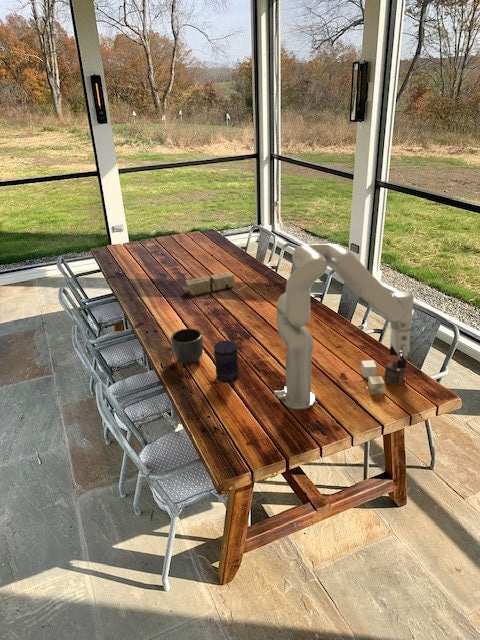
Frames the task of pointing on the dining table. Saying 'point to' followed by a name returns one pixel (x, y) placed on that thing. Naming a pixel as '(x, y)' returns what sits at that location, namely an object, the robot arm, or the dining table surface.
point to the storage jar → (226, 361)
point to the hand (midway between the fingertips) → (397, 361)
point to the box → (394, 374)
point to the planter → (187, 345)
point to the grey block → (368, 368)
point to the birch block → (376, 385)
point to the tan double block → (210, 283)
